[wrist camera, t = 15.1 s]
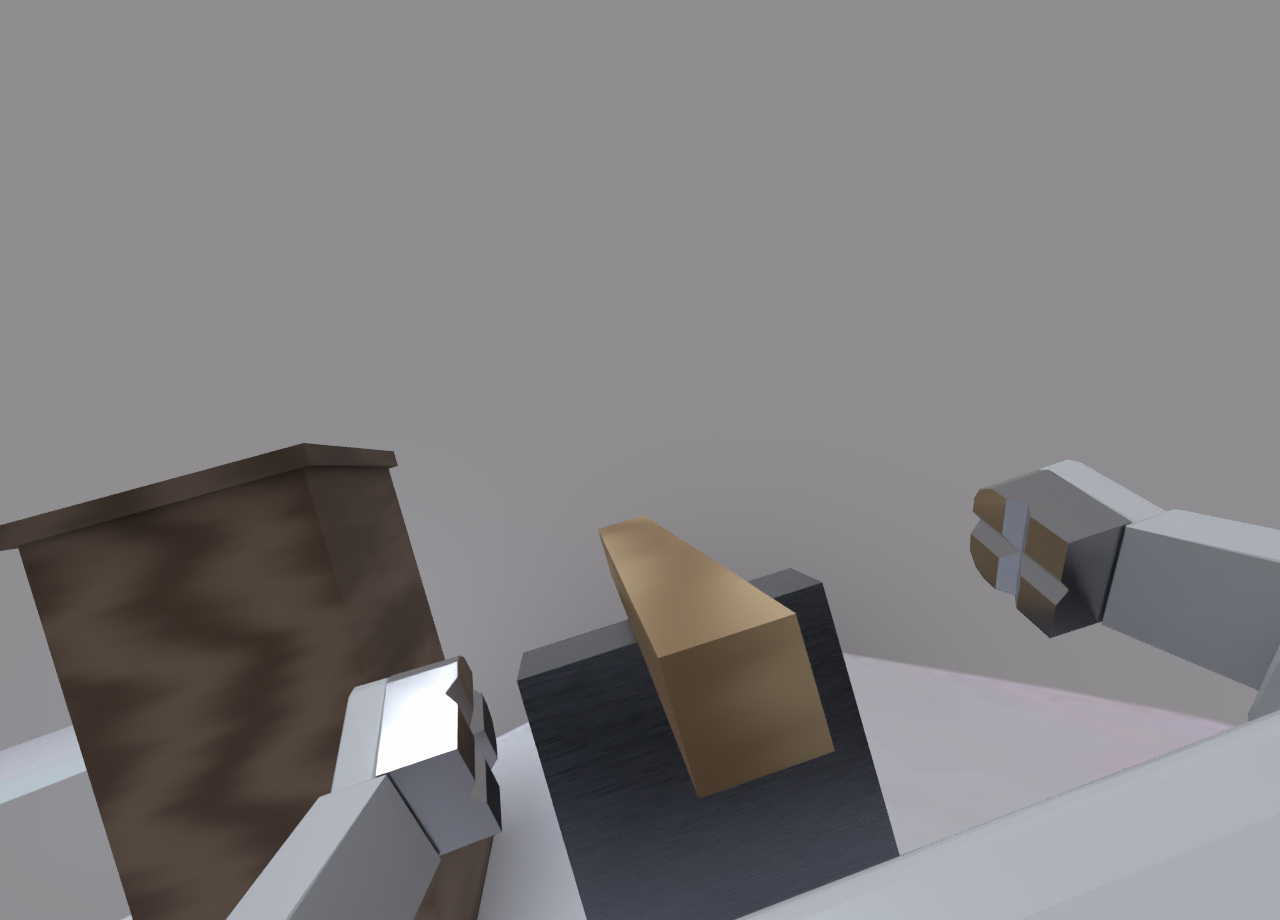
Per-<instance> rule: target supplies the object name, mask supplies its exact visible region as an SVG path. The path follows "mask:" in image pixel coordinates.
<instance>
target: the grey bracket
mask: <svg viewBox="0 0 1280 920" xmlns="http://www.w3.org/2000/svg"><path fill="white" fill-rule="evenodd" d="M748 583H749V584H751V585H753V586H754V587H756V588H757V589H759V590H760V591H762V592H763V593H765V594H766V595H768V596H770V597H771V598H773V599H774V600H776V601H777V602H779V603H780V604H782V605H783V606H785V607H787V608H788V609H790V610H791V611H793V612H794V613H796V616H797V619H798V623H799V626H800V630H801V633H802V637H803V640H804V644H805V647H806V651H807V655H808V658H809V662H810V665H811V669H812V672H813V676H814V679H815V683H816V686H817V690H818V693H819V697H820V700H821V704H822V707H823V711H824V714H825V718H826V721H827V725H828V728H829V732H830V735H831V739H832V743H833V746H834V750H835V751H833V752H831V753H828V754H825V755H822V756H819V757H816V758H814V759H811V760H808V761H805V762H802V763H799V764H797V765H794V766H791V767H788V768H785V769H782V770H779V771H777V772H774V773H771V774H768V775H765V776H762V777H760V778H757V779H754V780H751V781H748V782H745V783H742V784H740V785H737V786H734V787H731V788H728V789H725V790H723V791H720V792H717V793H714V794H711V795H708V796H705V797H703V798H700V799H699V798H698V795H697V793H696V790H695V787H694V785H693V782H692V780H691V777H690V775H689V772H688V770H687V767H686V764H685V762H684V759H683V757H682V754H681V752H680V749H679V747H678V744H677V741H676V739H675V736H674V734H673V731H672V729H671V726H670V724H669V721H668V718H667V716H666V713H665V711H664V708H663V706H662V703H661V701H660V698H659V695H658V693H657V690H656V688H655V685H654V683H653V680H652V678H651V675H650V672H649V670H648V667H647V665H646V662H645V660H644V657H643V655H642V652H641V649H640V647H639V644H638V642H637V639H636V637H635V634H634V632H633V629H632V626H631V624H630V621H629V619H628V620H625V621H622V622H619V623H616V624H613V625H609V626H606V627H603V628H600V629H597V630H594V631H591V632H588V633H584V634H581V635H578V636H575V637H572V638H569V639H566V640H562V641H559V642H556V643H553V644H550V645H546V646H544V647H540V648H537V649H534V650H531V651H528V652H525V653H523V657H522V661H521V665H520V670H519V674H518V678H517V683H518V686H519V690H520V693H521V697H522V700H523V704H524V707H525V710H526V714H527V717H528V721H529V724H530V727H531V731H532V734H533V738H534V741H535V744H536V748H537V751H538V755H539V758H540V761H541V765H542V768H543V772H544V775H545V778H546V782H547V785H548V789H549V792H550V795H551V799H552V802H553V806H554V809H555V812H556V816H557V819H558V823H559V826H560V830H561V833H562V836H563V840H564V843H565V847H566V850H567V853H568V857H569V860H570V864H571V867H572V870H573V874H574V877H575V881H576V884H577V887H578V891H579V894H580V898H581V901H582V904H583V908H584V911H585V915H586V918H587V920H735V919H738V918H740V917H743V916H745V915H748V914H751V913H753V912H756V911H758V910H761V909H764V908H766V907H769V906H771V905H774V904H776V903H779V902H782V901H784V900H787V899H789V898H792V897H795V896H797V895H800V894H802V893H805V892H808V891H810V890H813V889H815V888H818V887H821V886H823V885H826V884H828V883H831V882H834V881H836V880H839V879H841V878H844V877H846V876H849V875H852V874H854V873H857V872H859V871H862V870H865V869H867V868H870V867H872V866H875V865H878V864H880V863H883V862H885V861H888V860H891V859H893V858H896V857H898V856H900V855H899V852H898V848H897V845H896V841H895V838H894V834H893V830H892V827H891V823H890V820H889V816H888V813H887V809H886V806H885V802H884V799H883V795H882V792H881V788H880V785H879V781H878V777H877V774H876V770H875V767H874V763H873V760H872V756H871V753H870V749H869V746H868V742H867V739H866V735H865V732H864V728H863V724H862V721H861V717H860V714H859V710H858V707H857V703H856V700H855V696H854V693H853V689H852V686H851V682H850V679H849V675H848V671H847V668H846V664H845V661H844V657H843V654H842V650H841V647H840V644H839V640H838V636H837V633H836V629H835V626H834V622H833V618H832V615H831V611H830V608H829V605H828V601H827V597H826V594H825V591H824V587H823V583H822V582H820V581H818V580H816V579H814V578H811V577H809V576H807V575H805V574H802V573H800V572H798V571H796V570H794V569H791V568H789V569H786V570H783V571H779V572H776V573H773V574H770V575H767V576H764V577H761V578H757V579H754V580H751V581H748Z"/></svg>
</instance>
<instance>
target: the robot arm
mask: <svg viewBox="0 0 1280 920" xmlns="http://www.w3.org/2000/svg"><path fill="white" fill-rule="evenodd" d="M973 512H974V513H975V514H976V515H977V516H978V517H979V518H980V519H981V520H980V521H979V522H978V524H977V525H976V527H975V528H974V530H973V531H972V533H971V542H970V552H971V554H972V558H973V560H974V563H975V566H976V568H977V569H978V571H979V572H980V574H981V575H982V576H983V578H984V579H985V580H986V581H987V582H988V583H989V584H990V585H991V586H992V587H994V588H995V589H996V590H999V591H1002V592H1005V593H1009V594H1011V595H1014V596H1015V601H1016V607H1017V609H1018V610H1019V611H1020V612H1021V613H1022V614H1024V616H1026V617H1027V618H1028V619H1029V620H1030V621H1031V622H1032V623H1033V624H1035V625H1036V626H1037V627H1038V628H1039V629H1040V630H1041V631H1042V632H1043V633H1045V634H1046V635H1047V636H1048V637H1049V638H1052V637H1055V636H1058V635H1061V634H1065V633H1068V632H1070V631H1074V630H1077V629H1080V628H1083V627H1086V626H1089V625H1093V624H1095V623H1098V622H1102V625H1104V626H1106V627H1109V628H1111V629H1113V630H1116V631H1118V632H1121V633H1123V634H1125V635H1128V636H1130V637H1132V638H1135V639H1137V640H1140V641H1142V642H1144V643H1147V644H1149V645H1151V646H1154V647H1156V648H1159V649H1161V650H1163V651H1166V652H1168V653H1171V654H1173V655H1175V656H1177V657H1180V658H1182V659H1185V660H1187V661H1190V662H1192V663H1194V664H1196V665H1199V666H1201V667H1204V668H1206V669H1208V670H1211V671H1213V672H1215V673H1218V674H1220V675H1223V676H1225V677H1227V678H1230V679H1232V680H1235V681H1237V682H1239V683H1242V684H1244V685H1247V686H1249V687H1251V688H1254V689H1256V690H1258V693H1257V695H1256V698H1255V700H1254V702H1253V704H1252V706H1251V709H1250V711H1249V713H1248V718H1249V722H1247V723H1244V724H1241V725H1239V726H1236V727H1234V728H1231V729H1228V730H1226V731H1223V732H1221V733H1218V734H1216V735H1213V736H1210V737H1208V738H1205V739H1203V740H1200V741H1197V742H1195V743H1192V744H1190V745H1187V746H1184V747H1182V748H1179V749H1177V750H1174V751H1171V752H1169V753H1166V754H1164V755H1161V756H1158V757H1156V758H1153V759H1150V760H1148V761H1145V762H1143V763H1140V764H1137V765H1135V766H1132V767H1130V768H1127V769H1124V770H1122V771H1119V772H1117V773H1114V774H1111V775H1109V776H1106V777H1104V778H1101V779H1098V780H1096V781H1093V782H1091V783H1088V784H1085V785H1083V786H1080V787H1078V788H1075V789H1072V790H1070V791H1067V792H1065V793H1062V794H1059V795H1057V796H1054V797H1052V798H1049V799H1046V800H1044V801H1041V802H1039V803H1036V804H1033V805H1031V806H1028V807H1026V808H1023V809H1020V810H1018V811H1015V812H1013V813H1010V814H1007V815H1005V816H1002V817H999V818H997V819H994V820H992V821H989V822H986V823H984V824H981V825H979V826H976V827H973V828H971V829H968V830H966V831H963V832H961V833H958V834H955V835H953V836H950V837H948V838H945V839H942V840H940V841H937V842H935V843H932V844H929V845H927V846H924V847H922V848H919V849H916V850H914V851H911V852H909V853H906V854H903V855H901V856H898V857H896V858H893V859H891V860H888V861H885V862H883V863H880V864H878V865H875V866H872V867H870V868H867V869H865V870H862V871H859V872H857V873H854V874H852V875H849V876H846V877H844V878H841V879H839V880H836V881H834V882H831V883H828V884H826V885H823V886H821V887H818V888H815V889H813V890H810V891H808V892H805V893H802V894H800V895H797V896H795V897H792V898H789V899H787V900H784V901H782V902H779V903H776V904H774V905H771V906H769V907H766V908H764V909H761V910H758V911H756V912H753V913H751V914H748V915H745V916H743V917H740V918H738V919H735V920H1280V530H1276V529H1271V528H1266V527H1261V526H1256V525H1251V524H1246V523H1242V522H1237V521H1232V520H1227V519H1222V518H1217V517H1212V516H1207V515H1202V514H1197V513H1192V512H1188V511H1183V510H1178V509H1175V510H1171V511H1168V512H1166V511H1164V510H1162V509H1160V508H1159V507H1157V506H1155V505H1154V504H1152V503H1150V502H1148V501H1147V500H1145V499H1143V498H1141V497H1140V496H1138V495H1136V494H1134V493H1132V492H1131V491H1129V490H1127V489H1126V488H1124V487H1122V486H1120V485H1119V484H1117V483H1115V482H1113V481H1112V480H1110V479H1108V478H1106V477H1105V476H1103V475H1101V474H1099V473H1098V472H1096V471H1094V470H1092V469H1091V468H1089V467H1087V466H1086V465H1084V464H1082V463H1080V462H1077V461H1071V460H1065V461H1062V462H1060V463H1057V464H1054V465H1051V466H1048V467H1045V468H1042V469H1039V470H1037V471H1035V472H1031V473H1028V474H1025V475H1022V476H1019V477H1016V478H1013V479H1009V480H1006V481H1004V482H1000V483H997V484H994V485H991V486H988V487H985V488H982V489H980V490H979V491H978V493H977V495H976V496H975V498H974V506H973ZM497 759H498V757H497V744H496V737H495V732H494V727H493V722H492V718H491V715H490V712H489V709H488V706H487V703H486V701H485V699H484V697H483V695H482V694H481V693H479V692H477V691H475V690H473V680H472V671H471V670H470V668H469V666H468V664H467V662H466V660H465V658H464V657H462V656H457V657H453V658H450V659H447V660H443V661H440V662H436V663H433V664H430V665H426V666H423V667H420V668H416V669H413V670H409V671H406V672H403V673H399V674H396V675H392V676H391V677H389V678H385V679H382V680H378V681H375V682H371V683H368V684H364V685H361V686H357V687H355V688H354V689H353V691H352V692H351V694H350V696H349V698H348V703H347V708H346V713H345V719H344V724H343V730H342V735H341V740H340V746H339V751H338V757H337V762H336V767H335V773H334V778H333V784H332V789H331V793H329V794H326V795H324V796H321V797H319V798H318V799H317V801H316V802H315V803H314V805H313V806H312V807H311V809H310V810H309V811H308V813H307V814H306V815H305V816H304V818H303V819H302V820H301V822H300V823H299V824H298V826H297V827H296V828H295V830H294V831H293V832H292V834H291V835H290V836H289V837H288V839H287V840H286V841H285V843H284V844H283V845H282V847H281V848H280V849H279V851H278V852H277V853H276V855H275V856H274V857H273V858H272V860H271V861H270V862H269V864H268V865H267V866H266V868H265V869H264V870H263V872H262V873H261V874H260V876H259V877H258V878H257V879H256V881H255V882H254V883H253V885H252V886H251V887H250V889H249V890H248V891H247V893H246V894H245V895H244V897H243V898H242V899H241V900H240V902H239V903H238V904H237V906H236V907H235V908H234V910H233V911H232V912H231V914H230V915H229V916H228V918H227V919H226V920H414V917H415V915H416V913H417V911H418V909H419V906H420V904H421V902H422V900H423V898H424V895H425V893H426V891H427V889H428V887H429V885H430V882H431V880H432V878H433V876H434V874H435V871H436V869H437V867H438V865H439V863H440V860H441V859H440V857H439V856H440V855H443V854H445V853H448V852H451V851H453V850H456V849H458V848H461V847H464V846H466V845H469V844H471V843H474V842H477V841H479V840H482V839H484V838H487V837H490V836H492V835H495V834H497V833H500V832H502V825H501V807H500V789H499V785H498V783H497V781H496V779H495V777H494V775H493V773H492V771H491V769H492V767H493V766H494V764H495V762H496V760H497Z"/></svg>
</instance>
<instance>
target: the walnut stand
mask: <svg viewBox="0 0 1280 920" xmlns="http://www.w3.org/2000/svg"><path fill="white" fill-rule="evenodd" d="M395 466H398V465H397V462H396V458H395V455H394V452H393V451H383V450H372V449H361V448H351V447H340V446H329V445H318V444H307V443H303V444H299V445H295V446H291V447H288V448H284V449H280V450H276V451H273V452H269V453H265V454H262V455H258V456H255V457H251V458H247V459H243V460H240V461H236V462H232V463H228V464H225V465H221V466H218V467H214V468H210V469H206V470H203V471H199V472H196V473H192V474H188V475H184V476H181V477H177V478H173V479H169V480H166V481H162V482H158V483H155V484H151V485H148V486H144V487H140V488H136V489H132V490H129V491H125V492H121V493H118V494H114V495H110V496H107V497H103V498H99V499H96V500H92V501H88V502H84V503H81V504H77V505H73V506H70V507H66V508H63V509H59V510H55V511H51V512H48V513H44V514H40V515H37V516H33V517H29V518H26V519H22V520H18V521H15V522H11V523H7V524H3V525H0V551H3V550H9V549H16V548H19V551H20V555H21V558H22V562H23V565H24V568H25V571H26V575H27V578H28V581H29V584H30V588H31V591H32V594H33V597H34V600H35V604H36V607H37V610H38V613H39V616H40V620H41V623H42V626H43V630H44V633H45V636H46V639H47V642H48V646H49V649H50V652H51V656H52V659H53V662H54V665H55V668H56V672H57V675H58V678H59V682H60V685H61V688H62V691H63V694H64V697H65V701H66V704H67V707H68V711H69V714H70V717H71V720H72V724H73V727H74V730H75V733H76V737H77V740H78V743H79V746H80V750H81V753H82V756H83V759H84V763H85V766H86V769H87V772H88V775H89V778H90V781H91V785H92V788H93V792H94V795H95V798H96V801H97V804H98V808H99V811H100V814H101V817H102V821H103V824H104V827H105V830H106V834H107V837H108V840H109V843H110V847H111V850H112V853H113V857H114V860H115V863H116V866H117V870H118V872H119V876H120V879H121V882H122V886H123V889H124V892H125V895H126V899H127V902H128V905H129V908H130V912H131V915H132V918H133V920H226V919H227V918H228V916H229V915H230V914H231V912H232V911H233V910H234V908H235V907H236V906H237V904H238V903H239V902H240V900H241V899H242V898H243V897H244V895H245V894H246V893H247V891H248V890H249V889H250V887H251V886H252V885H253V883H254V882H255V881H256V879H257V878H258V877H259V876H260V874H261V873H262V872H263V870H264V869H265V868H266V866H267V865H268V864H269V862H270V861H271V860H272V858H273V857H274V856H275V855H276V853H277V852H278V851H279V849H280V848H281V847H282V845H283V844H284V843H285V841H286V840H287V839H288V837H289V836H290V835H291V834H292V832H293V831H294V830H295V828H296V827H297V826H298V824H299V823H300V822H301V820H302V819H303V818H304V816H305V815H306V814H307V813H308V811H309V810H310V809H311V807H312V806H313V805H314V803H315V802H316V801H317V799H318V798H319V797H321V796H324V795H326V794H329V793H331V789H332V784H333V778H334V773H335V767H336V762H337V757H338V751H339V746H340V740H341V735H342V730H343V724H344V719H345V713H346V708H347V703H348V698H349V696H350V694H351V692H352V691H353V689H354V688H355V687H357V686H361V685H364V684H368V683H371V682H375V681H378V680H382V679H385V678H389V677H391V676H392V675H396V674H399V673H403V672H406V671H409V670H413V669H416V668H420V667H423V666H426V665H430V664H433V663H436V662H440V661H443V660H445V658H444V655H443V651H442V648H441V644H440V641H439V638H438V634H437V631H436V628H435V624H434V621H433V617H432V615H431V611H430V607H429V604H428V601H427V597H426V594H425V590H424V587H423V584H422V580H421V577H420V573H419V570H418V567H417V564H416V560H415V557H414V553H413V550H412V546H411V543H410V540H409V536H408V533H407V529H406V526H405V523H404V519H403V516H402V513H401V509H400V506H399V502H398V499H397V496H396V492H395V489H394V486H393V482H392V479H391V476H390V472H389V469H388V468H392V467H395ZM492 840H493V835H492V836H490V837H487V838H484V839H482V840H479V841H477V842H474V843H471V844H469V845H466V846H464V847H461V848H458V849H456V850H453V851H451V852H448V853H445V854H443V855H440V856H439V857H440V859H441V860H440V863H439V865H438V867H437V869H436V871H435V874H434V876H433V878H432V880H431V882H430V885H429V887H428V889H427V891H426V893H425V895H424V898H423V900H422V902H421V904H420V906H419V909H418V911H417V913H416V915H415V917H414V920H477V916H478V911H479V906H480V901H481V896H482V891H483V886H484V880H485V875H486V870H487V865H488V860H489V855H490V850H491V845H492Z"/></svg>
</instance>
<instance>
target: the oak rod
mask: <svg viewBox="0 0 1280 920" xmlns="http://www.w3.org/2000/svg"><path fill="white" fill-rule="evenodd" d="M598 530H599V534H600V537H601V541H602V544H603V548H604V551H605V555H606V558H607V561H608V565H609V568H610V572H611V575H612V578H613V580H614V583H615V586H616V588H617V591H618V593H619V596H620V598H621V601H622V603H623V606H624V609H625V611H626V614H627V616H628V619H629V621H630V624H631V626H632V629H633V632H634V634H635V637H636V639H637V642H638V644H639V647H640V649H641V652H642V655H643V657H644V660H645V662H646V665H647V667H648V670H649V672H650V675H651V678H652V680H653V683H654V685H655V688H656V690H657V693H658V695H659V698H660V701H661V703H662V706H663V708H664V711H665V713H666V716H667V718H668V721H669V724H670V726H671V729H672V731H673V734H674V736H675V739H676V741H677V744H678V747H679V749H680V752H681V754H682V757H683V759H684V762H685V764H686V767H687V770H688V772H689V775H690V777H691V780H692V782H693V785H694V787H695V790H696V793H697V795H698V798H699V799H700V798H703V797H705V796H708V795H711V794H714V793H717V792H720V791H723V790H725V789H728V788H731V787H734V786H737V785H740V784H742V783H745V782H748V781H751V780H754V779H757V778H760V777H762V776H765V775H768V774H771V773H774V772H777V771H779V770H782V769H785V768H788V767H791V766H794V765H797V764H799V763H802V762H805V761H808V760H811V759H814V758H816V757H819V756H822V755H825V754H828V753H831V752H833V751H835V750H834V746H833V743H832V739H831V735H830V732H829V728H828V725H827V721H826V718H825V714H824V711H823V707H822V704H821V700H820V697H819V693H818V690H817V686H816V683H815V679H814V676H813V672H812V669H811V665H810V662H809V658H808V655H807V651H806V647H805V644H804V640H803V637H802V633H801V630H800V626H799V623H798V619H797V616H796V613H794V612H793V611H791V610H790V609H788V608H787V607H785V606H783V605H782V604H780V603H779V602H777V601H776V600H774V599H773V598H771V597H770V596H768V595H766V594H765V593H763V592H762V591H760V590H759V589H757V588H756V587H754V586H753V585H751V584H749V583H748V582H746V581H745V580H743V579H742V578H740V577H738V576H737V575H736V574H734V573H732V572H730V571H729V570H728V569H726V568H725V567H723V566H721V565H720V564H719V563H717V562H715V561H714V560H712V559H711V558H709V557H708V556H706V555H704V554H703V553H702V552H700V551H698V550H697V549H695V548H694V547H692V546H690V545H689V544H688V543H686V542H684V541H683V540H681V539H680V538H678V537H677V536H675V535H674V534H672V533H671V532H669V531H668V530H666V529H664V528H663V527H661V526H660V525H658V524H657V523H655V522H654V521H652V520H650V519H649V518H647V517H646V516H641V517H637V518H634V519H631V520H628V521H624V522H621V523H618V524H614V525H611V526H607V527H604V528H601V529H598Z"/></svg>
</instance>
